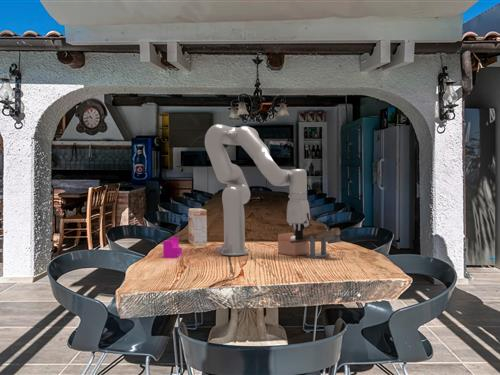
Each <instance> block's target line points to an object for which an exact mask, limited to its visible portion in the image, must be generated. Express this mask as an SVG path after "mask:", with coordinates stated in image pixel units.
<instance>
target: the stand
mask: <svg viewBox="0 0 500 375" xmlns="http://www.w3.org/2000/svg"><path fill="white" fill-rule="evenodd" d="M309 243H310V254H305V256H306V259H311V260H318V259H324V258H327V257H328V258H329V257H330V256H331V255H330V254H331V253H327V237H326V238H321V239H320V252H316V240H315V236H310V241H309Z"/></svg>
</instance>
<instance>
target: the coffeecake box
mask: <svg viewBox="0 0 500 375" xmlns="http://www.w3.org/2000/svg"><path fill="white" fill-rule="evenodd" d="M187 211H188V212H187V213H188V216H187V217H188V218H187V219H188V243H189V244H191V245H192V246H193V247H200V246H203V247H204V246H206V247H207V245H208V227H207V224H208V223H207V222H208V219H207V218H208V217H207V213H208V211H207V209H204V208H196V207H195V208H188V210H187Z"/></svg>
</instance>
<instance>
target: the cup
mask: <svg viewBox="0 0 500 375" xmlns="http://www.w3.org/2000/svg"><path fill="white" fill-rule="evenodd" d="M294 233H295V232H287V233H286V232H285V233H278V234H277V247H278V248H277V254H278V255H283V256H290V257H300V256H304V255H305V256H306V255H309V253H310V242H309V241H306V242H300V243H290V238H291V237H292V236H295V234H294Z"/></svg>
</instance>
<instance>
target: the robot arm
mask: <svg viewBox="0 0 500 375" xmlns="http://www.w3.org/2000/svg"><path fill="white" fill-rule="evenodd" d="M224 145H229V146H230V145H231V146H241V148H243V150H244V151H245V152H246V153H247V154H248V156H249V157H250V158H251V159H252V160H253V162H254V163H255V165H256V167H257V169H258V170H259V172H261V174H262V176H264V178H266V180H267V181H268V182H269V183H270V184H271V185H272V186H274V187H286V186H289V194H288V196H287V197H288V198H289V200H288V202H287V208H286V222H287V223H288V225H289V226H291V227H292V228H293V230H294V233H295V234H294V236H295V239H296V240H300V239H303V236H304V235H303V232H304V230H305V228H306V227H309V226H310V222H311V212H310V203H309V200H308V185H307V182H308V181H307V178H308V176H307V175H308V174H307V170H306V169H304V168H293V169H282V168H280V166H278V164H277V163H276V162H275V161H274V159H273V158H272V156H271V155H270V149H269V148H268V146H267V145H266V144H265V143H264V142H263V140H262V139H261V138H260V136H259V133H258V131H257V130H256V129H255V128H253V127H251V126H247V125H241V126H239V127H233V126H228V125H224V124H221V123H218V124H217V123H216V124H214V125H211V126H210V128H209V129H208V130H207V131H206V133H205V135H204V147H205V150H206V153H207V155H208V158H209V159H210V163H211V166H212V169H213V171H214V173H215V176H216V179H217V180H218V182H220V183H221V184H226V185H227V186H226V187H225V188H224V189H223V191H222V195H221V200H222V201H221V202H222V208H223V244H222V245H221V246H217V247H215V251H216V252H220V254H221V255H224V256H244V255H248V254H249V251H248V250H246V247H245V246H246V245H245V244H246V239H245V238H246V236H245V235H246V234H245V233H246V232H245V230H246V229H245V228H246V224H245V223H246V222H245V220H246V219H245V207H244V205H245V204H247V203H248V202H249V201H250V199H251V190H250V187H249V185H248V182H247V180H246V178H245V175H244V172H243V170H242V169H241V167H240V166H239V165H237V164H235V163H232V162H231V159H230V157H229V154H228V151H227V150H226V149H225V147H224Z"/></svg>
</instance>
